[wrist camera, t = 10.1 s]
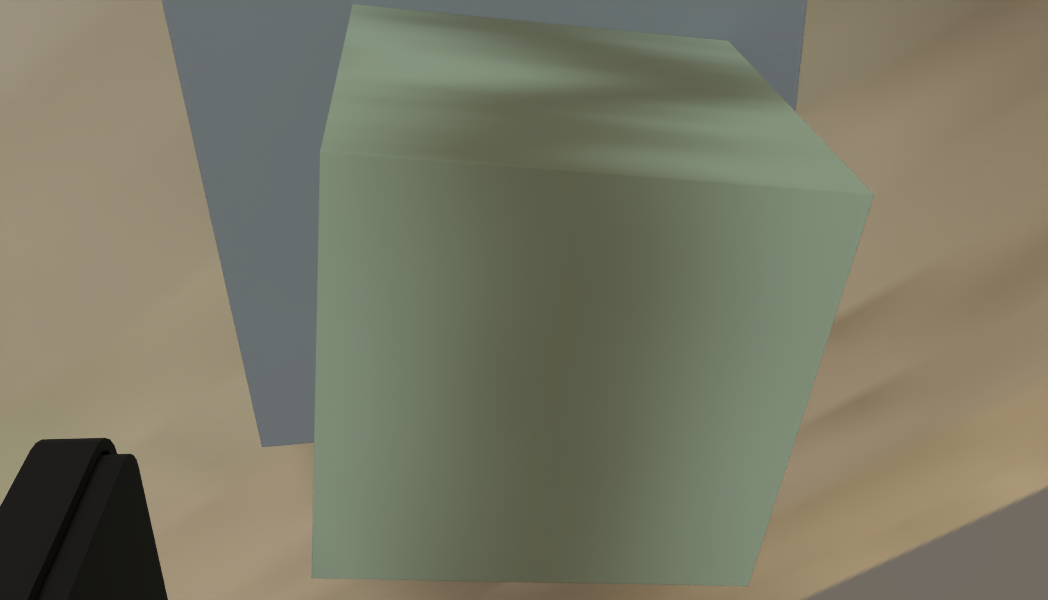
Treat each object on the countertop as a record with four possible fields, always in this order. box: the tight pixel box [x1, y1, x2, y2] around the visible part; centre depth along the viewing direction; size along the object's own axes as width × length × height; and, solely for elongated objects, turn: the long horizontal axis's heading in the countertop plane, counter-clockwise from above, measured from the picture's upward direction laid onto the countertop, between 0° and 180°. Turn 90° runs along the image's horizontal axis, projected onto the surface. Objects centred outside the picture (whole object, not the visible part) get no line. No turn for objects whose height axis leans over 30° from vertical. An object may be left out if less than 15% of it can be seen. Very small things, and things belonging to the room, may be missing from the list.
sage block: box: [312, 4, 874, 586], centre depth 15 cm, size 6×6×6 cm
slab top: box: [162, 0, 807, 447], centre depth 19 cm, size 10×10×4 cm
